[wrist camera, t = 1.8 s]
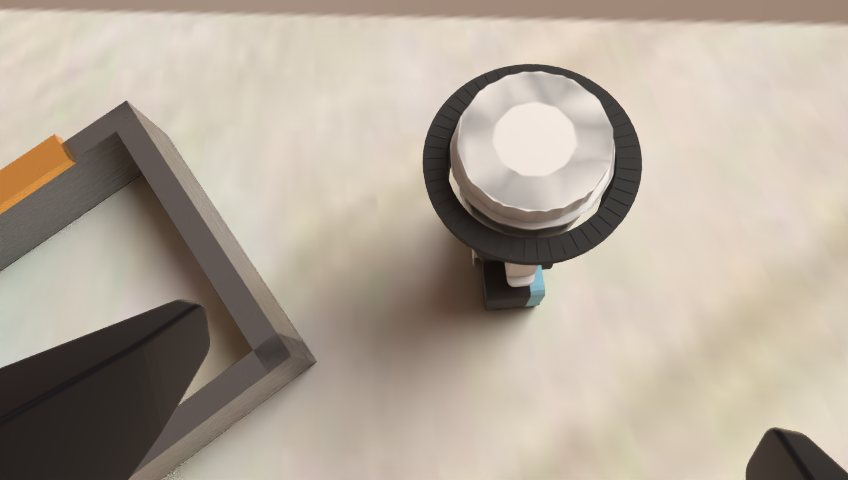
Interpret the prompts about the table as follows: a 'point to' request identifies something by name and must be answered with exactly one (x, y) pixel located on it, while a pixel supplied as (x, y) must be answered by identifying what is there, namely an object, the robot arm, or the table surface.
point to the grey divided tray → (203, 233)
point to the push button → (530, 173)
